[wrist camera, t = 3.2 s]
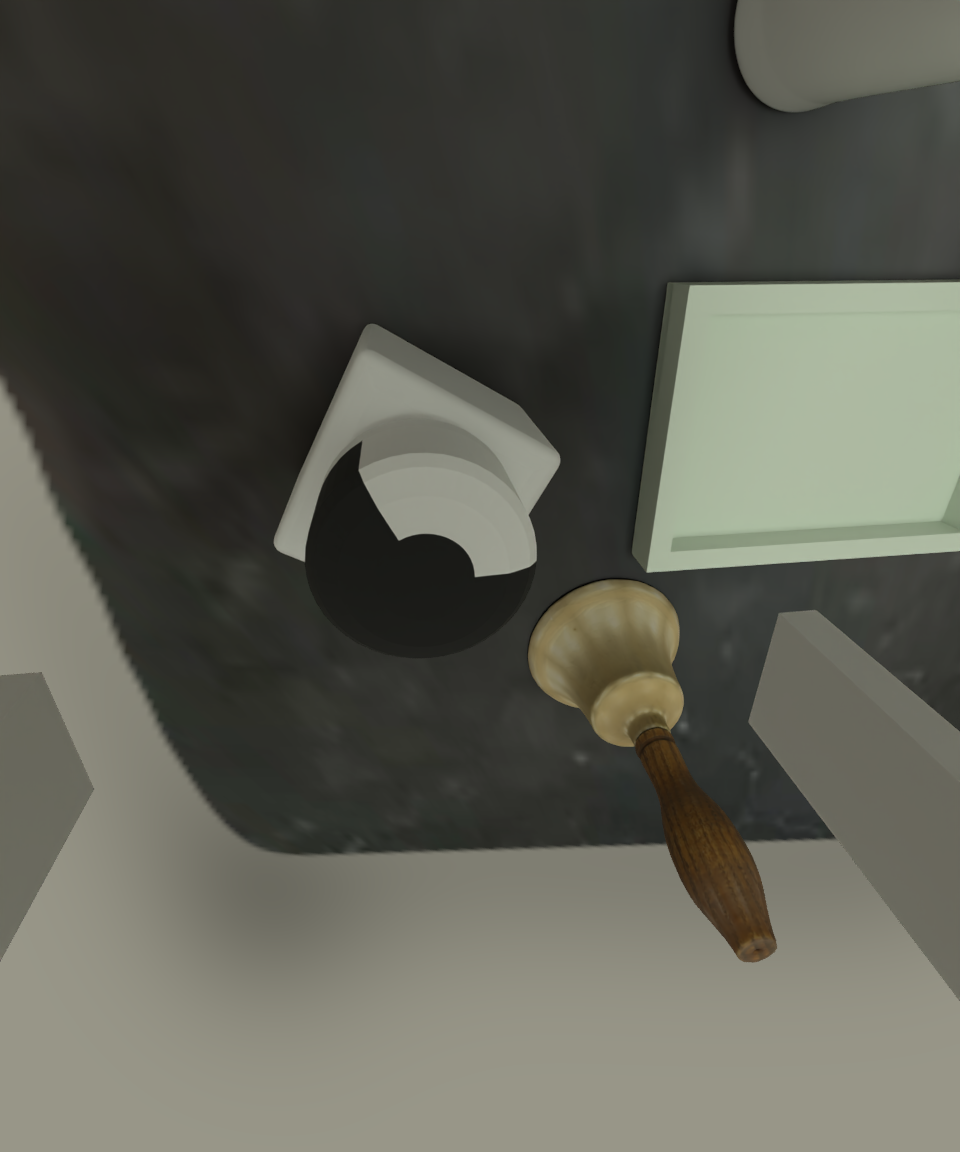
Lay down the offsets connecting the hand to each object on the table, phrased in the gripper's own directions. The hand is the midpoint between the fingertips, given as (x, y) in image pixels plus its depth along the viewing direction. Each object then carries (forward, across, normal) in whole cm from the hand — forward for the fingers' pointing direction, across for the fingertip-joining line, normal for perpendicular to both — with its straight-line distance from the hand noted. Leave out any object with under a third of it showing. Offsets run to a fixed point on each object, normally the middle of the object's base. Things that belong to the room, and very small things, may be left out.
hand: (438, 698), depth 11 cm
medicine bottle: (+17, 0, 0) cm, 17 cm away
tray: (+16, +19, 0) cm, 25 cm away
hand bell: (+17, +10, -11) cm, 22 cm away
